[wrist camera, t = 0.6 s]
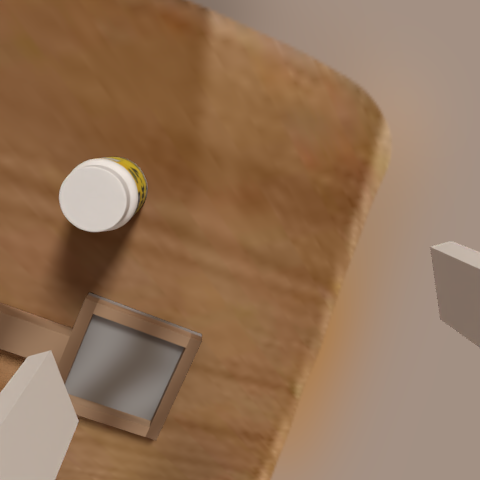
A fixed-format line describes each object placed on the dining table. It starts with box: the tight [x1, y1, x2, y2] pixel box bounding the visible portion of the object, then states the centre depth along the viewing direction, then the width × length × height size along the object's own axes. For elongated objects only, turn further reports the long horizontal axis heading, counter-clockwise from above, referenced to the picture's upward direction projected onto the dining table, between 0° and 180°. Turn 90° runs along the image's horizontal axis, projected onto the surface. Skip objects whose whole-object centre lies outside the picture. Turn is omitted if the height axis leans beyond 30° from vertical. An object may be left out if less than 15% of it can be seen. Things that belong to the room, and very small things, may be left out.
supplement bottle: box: [59, 157, 148, 232], centre depth 30 cm, size 5×5×8 cm
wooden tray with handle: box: [0, 292, 202, 440], centre depth 34 cm, size 26×10×3 cm, turn 66°
